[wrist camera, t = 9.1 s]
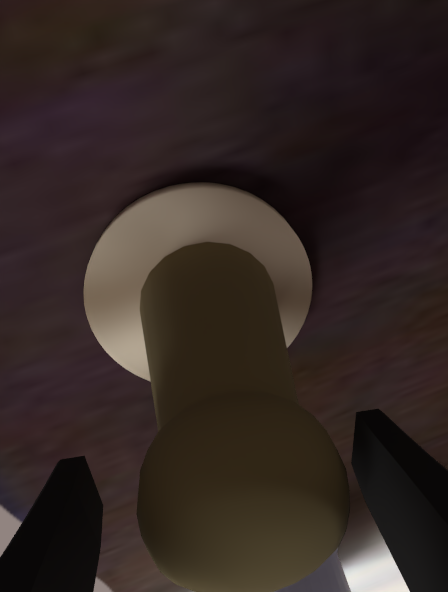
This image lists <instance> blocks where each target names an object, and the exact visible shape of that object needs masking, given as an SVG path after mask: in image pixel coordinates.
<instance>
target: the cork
mask: <svg viewBox="0 0 448 592" xmlns="http://www.w3.org/2000/svg"><path fill="white" fill-rule="evenodd" d="M140 316H141V322H142V329H143V335H144V341H145V348H146V354H147V361H148V367H149V374H150V380H151V386H152V393H153V399H154V406H155V412H156V418H157V425H158V431H159V432H158V433H157V435H156V437H155V438H154V440H153V442H152V444H151V445H150V447H149V449H148V451H147V453H146V456H145V459H144V462H143V464H142V467H141V470H140V480H139V491H138V504H137V518H138V523H139V528H140V532H141V536H142V539H143V541H144V543H145V545H146V548H147V550H148V552H149V554H150V556H151V557H152V559H153V561H154V562H155V564H156V566H157V567H158V569H159V570H160V572H161V573H162V574H164V575H165V576H166V577H167V578H169V579H170V580H171V581H172V582H173V583H175V584H176V585H179V586H182V587H184V588H187V589H190V590H192V591H195V592H274V591H277V590H279V589H282V588H284V587H287V586H289V585H292V584H294V583H297V582H298V581H300V580H301V579H303V578H305V577H306V576H308V575H309V574H311V573H313V572H314V571H315V570H316V569H318V568H319V567H320V566H321V565H322V564H323V563H324V562H325V561H326V560H327V559H328V558H329V557H330V556H331V555H332V554H333V553H334V552H335V550H336V549H337V548H338V546H339V544H340V542H341V540H342V538H343V536H344V534H345V532H346V527H347V522H348V516H349V511H350V507H349V485H348V479H347V472H346V468H345V466H344V464H343V462H342V460H341V457H340V455H339V453H338V451H337V449H336V447H335V445H334V444H333V442H332V440H331V438H330V436H329V435H328V433H327V431H326V430H325V429H324V427H323V426H322V425H321V424H320V423H319V422H318V420H317V419H316V418H315V417H314V416H313V415H312V414H310V413H309V412H308V411H306V410H305V409H304V408H302V407H301V406H300V405H299V404H298V399H297V394H296V390H295V385H294V380H293V375H292V370H291V366H290V361H289V356H288V351H287V346H286V342H285V337H284V332H283V327H282V322H281V318H280V313H279V308H278V303H277V298H276V294H275V289H274V284H273V282H272V280H271V278H270V276H269V274H268V272H267V270H266V268H265V266H264V265H263V264H262V263H261V262H259V261H258V260H257V259H256V258H255V257H254V256H253V255H252V254H251V253H249V252H247V251H245V250H243V249H240V248H238V247H236V246H233V245H231V244H225V243H215V242H203V243H198V244H193V245H188V246H184V247H182V248H180V249H178V250H176V251H175V252H173V253H171V254H169V255H167V256H165V257H164V258H163V259H162V260H161V261H160V262H159V263H158V264H157V265H156V266H155V267H154V268H153V269H152V270H151V271H150V272H149V274H148V277H147V279H146V281H145V283H144V285H143V287H142V289H141V297H140Z"/></svg>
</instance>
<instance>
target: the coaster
mask: <svg viewBox="0 0 448 592" xmlns="http://www.w3.org/2000/svg"><path fill="white" fill-rule="evenodd" d="M203 242H215V243H225V244H231V245H233V246H236V247H238V248H240V249H243V250H245V251H247V252H249V253H251V254H252V255H253V256H254V257H255V258H256V259H257V260H258V261H259V262H261V263H262V264H263V265H264V266H265V268H266V270H267V272H268V274H269V276H270V278H271V280H272V282H273V284H274V289H275V294H276V298H277V303H278V308H279V313H280V318H281V322H282V327H283V332H284V337H285V342H286V346H287V348H288V346H289V345H290V344H291V343H292V341H293V340H294V339H295V337H296V336H297V334H298V333H299V331H300V329H301V327H302V325H303V323H304V321H305V318H306V316H307V313H308V310H309V306H310V302H311V295H312V273H311V268H310V263H309V259H308V257H307V254H306V251H305V248H304V247H303V245H302V243H301V241H300V239H299V238H298V236H297V235H296V233H295V232H294V231H293V229H292V228H291V227H290V225H289V224H288V223H287V222H286V220H285V219H284V218H283V217H282V216H281V215H280V214H279V213H278V212H277V211H276V210H275V209H274V208H273V207H272V206H270V205H269V204H268V203H266V202H265V201H263V200H262V199H261V198H259V197H257V196H255V195H253V194H251V193H249V192H247V191H244V190H241V189H239V188H236V187H233V186H228V185H223V184H219V183H208V182H194V183H183V184H177V185H172V186H168V187H165V188H162V189H159V190H156V191H153V192H151V193H149V194H147V195H145V196H143V197H141V198H139V199H138V200H136V201H135V202H133V203H132V204H130V205H129V206H127V207H126V208H125V209H124V210H122V211H121V212H120V213H119V214H118V215H117V216H116V217H115V218H114V219H113V220H112V221H111V222H110V224H109V225H108V226H107V227H106V228H105V230H104V232H103V233H102V235H101V236H100V238H99V240H98V241H97V244H96V246H95V248H94V251H93V253H92V256H91V258H90V261H89V264H88V267H87V271H86V275H85V282H84V305H85V310H86V314H87V319H88V321H89V324H90V326H91V329H92V331H93V333H94V335H95V336H96V338H97V340H98V342H99V343H100V344H101V346H102V347H103V348H104V350H105V351H106V352H107V353H108V354H109V355H110V356H111V357H112V358H113V359H114V360H115V361H116V362H117V363H119V364H120V365H121V366H123V367H124V368H125V369H127V370H128V371H130V372H132V373H134V374H135V375H137V376H139V377H141V378H144V379H146V380H148V381H151V380H150V374H149V367H148V361H147V354H146V348H145V341H144V335H143V329H142V322H141V316H140V297H141V289H142V287H143V285H144V283H145V281H146V279H147V277H148V274H149V272H150V271H151V270H152V269H153V268H154V267H155V266H156V265H157V264H158V263H159V262H160V261H161V260H162V259H163V258H164V257H165V256H167V255H169V254H171V253H173V252H175V251H176V250H178V249H180V248H182V247H184V246H188V245H193V244H198V243H203Z"/></svg>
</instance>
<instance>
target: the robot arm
mask: <svg viewBox="0 0 448 592" xmlns="http://www.w3.org/2000/svg"><path fill="white" fill-rule="evenodd" d="M351 464H352V466H353V469H354V472H355V475H356V478H357V480H358V483H359V486H360V489H361V491H362V494H363V496H364V499H365V502H366V504H367V506H368V508H369V510H370V512H371V514H372V516H373V518H374V520H375V522H376V524H377V526H378V528H379V530H380V532H381V534H382V536H383V538H384V540H385V542H386V544H387V546H388V548H389V550H390V552H391V554H392V556H393V558H394V560H395V562H396V564H397V566H398V568H399V570H400V572H401V574H402V576H403V578H404V580H405V582H406V584H407V586H408V588H409V590H410V592H448V470H447V469H445V468H444V467H443V466H442V465H441V464H439V463H438V462H437V461H436V460H435V459H434V458H432V457H431V456H430V455H429V454H428V453H427V452H426V451H425V450H423V449H422V448H421V447H420V446H419V445H418V444H417V443H416V442H415V441H413V440H412V439H411V438H410V437H409V436H408V435H407V434H406V433H405V432H404V431H402V430H401V429H400V428H399V427H398V426H397V425H396V424H395V423H394V422H393V421H392V420H391V419H390V418H388V417H387V416H386V415H385V414H384V413H383V412H382V411H381V410H379V409H374V410H368V411H361V412H356V421H355V432H354V442H353V452H352V462H351ZM102 516H103V504H102V501H101V498H100V496H99V493H98V490H97V488H96V485H95V483H94V480H93V477H92V475H91V472H90V469H89V467H88V464H87V461H86V459H85V456H80V457H74V458H68V459H62V460H60V461H59V462H58V463H57V465H56V466H55V468H54V470H53V472H52V473H51V475H50V477H49V479H48V480H47V482H46V484H45V486H44V487H43V489H42V491H41V493H40V494H39V496H38V498H37V499H36V501H35V503H34V504H33V506H32V508H31V509H30V511H29V513H28V514H27V516H26V518H25V519H24V521H23V522H22V524H21V526H20V527H19V529H18V531H17V532H16V534H15V535H14V537H13V538H12V540H11V542H10V543H9V545H8V546H7V548H6V550H5V551H4V552H3V554H2V556H1V557H0V592H93V590H94V584H95V578H96V572H97V566H98V560H99V554H100V547H101V533H102ZM337 553H338V548H337V549H336V550H335V552H334V553H333V554H332V555H331V556H330V557H329V558H328V559H327V560H326V561H325V562H324V563H323V564H322V565H321V566H320V567H319V568H318V569H316V570H315V571H314V572H313V573H311V574H309V575H308V576H306V577H305V578H303V579H301V580H300V581H298V582H297V583H294V584H292V585H289V586H287V587H284V588H282V589H279V590H277V591H274V592H351V591H350V588H349V585H348V582H347V579H346V577H345V574H344V571H343V568H342V565H341V562H340V559H339V557H338V554H337Z"/></svg>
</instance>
